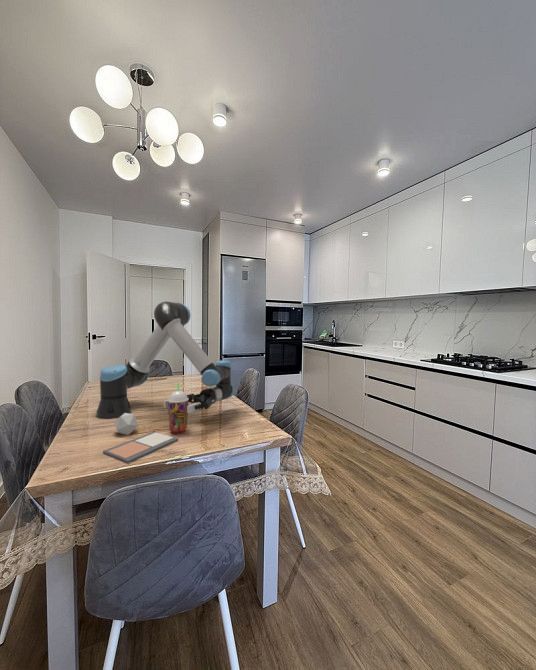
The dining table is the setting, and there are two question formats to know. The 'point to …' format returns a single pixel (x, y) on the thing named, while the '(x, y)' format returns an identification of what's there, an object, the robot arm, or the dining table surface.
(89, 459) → the dining table surface
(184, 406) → the smoothie
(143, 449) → the game board
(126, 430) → the die
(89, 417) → the dining table surface
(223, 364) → the robot arm
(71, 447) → the dining table surface
